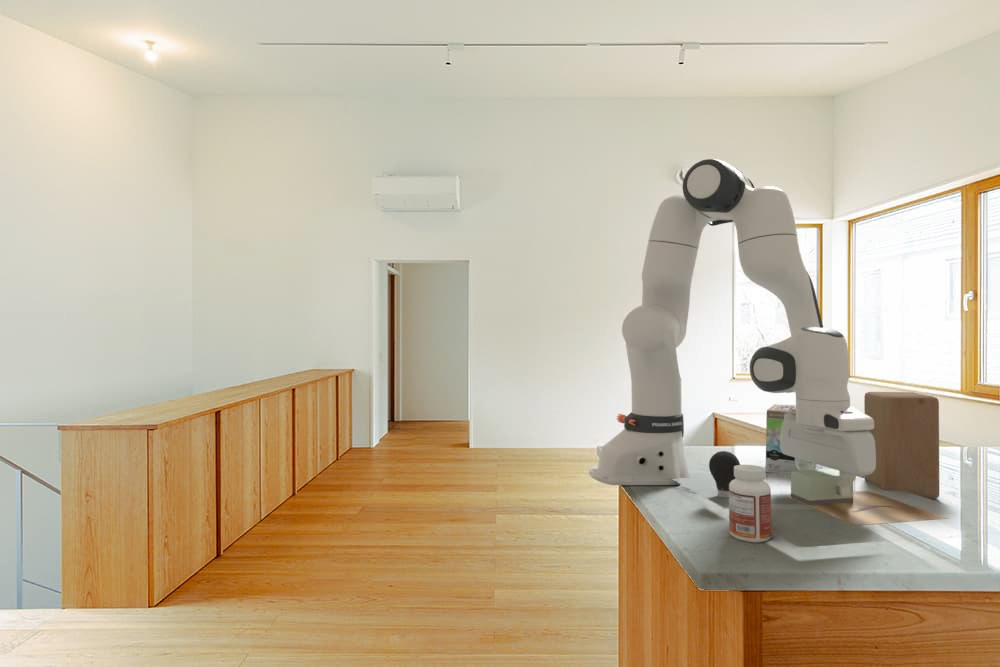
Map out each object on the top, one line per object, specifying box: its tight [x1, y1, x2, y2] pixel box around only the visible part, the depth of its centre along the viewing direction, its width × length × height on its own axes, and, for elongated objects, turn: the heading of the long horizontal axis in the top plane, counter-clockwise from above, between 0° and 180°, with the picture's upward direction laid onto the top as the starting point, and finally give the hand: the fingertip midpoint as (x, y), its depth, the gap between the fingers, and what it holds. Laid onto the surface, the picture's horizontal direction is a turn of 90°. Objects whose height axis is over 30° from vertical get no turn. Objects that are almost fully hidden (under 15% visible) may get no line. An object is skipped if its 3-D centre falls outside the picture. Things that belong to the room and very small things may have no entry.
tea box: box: [765, 403, 818, 474], centre depth 137 cm, size 15×10×15 cm
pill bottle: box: [728, 464, 772, 543], centre depth 92 cm, size 6×6×11 cm
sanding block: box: [790, 468, 854, 505], centre depth 107 cm, size 9×5×5 cm, turn 100°
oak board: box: [785, 490, 950, 526], centre depth 103 cm, size 18×17×2 cm
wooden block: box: [863, 391, 940, 500], centre depth 117 cm, size 10×10×20 cm
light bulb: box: [708, 450, 741, 499], centre depth 110 cm, size 6×6×10 cm
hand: (823, 488), depth 107 cm, fingers open, 8 cm apart
